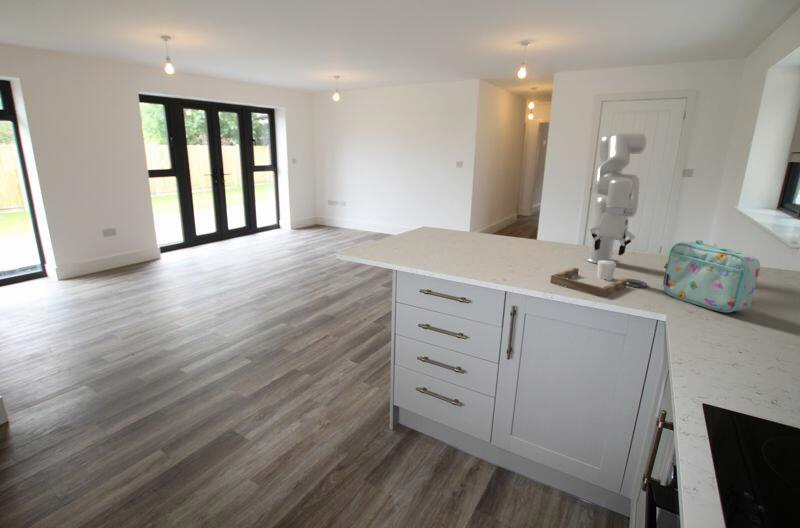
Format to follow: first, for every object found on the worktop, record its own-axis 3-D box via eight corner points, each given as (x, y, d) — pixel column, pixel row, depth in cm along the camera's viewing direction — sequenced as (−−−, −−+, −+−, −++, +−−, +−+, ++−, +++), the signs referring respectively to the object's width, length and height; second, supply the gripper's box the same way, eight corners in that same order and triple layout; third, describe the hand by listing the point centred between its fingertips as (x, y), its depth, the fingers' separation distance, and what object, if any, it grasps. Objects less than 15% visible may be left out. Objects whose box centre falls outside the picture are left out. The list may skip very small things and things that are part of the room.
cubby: (574, 274, 174) (575, 267, 173) (625, 287, 159) (627, 279, 158) (550, 282, 162) (551, 275, 161) (603, 297, 146) (604, 289, 146)
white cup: (615, 281, 166) (618, 264, 164) (597, 279, 167) (600, 263, 165) (611, 276, 172) (613, 260, 170) (593, 275, 174) (596, 259, 172)
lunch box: (654, 292, 153) (665, 236, 147) (672, 289, 157) (684, 235, 151) (731, 319, 129) (748, 254, 124) (751, 314, 133) (768, 251, 127)
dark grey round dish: (626, 279, 168) (626, 277, 168) (650, 285, 161) (650, 282, 161) (617, 283, 162) (617, 281, 162) (641, 289, 156) (641, 287, 156)
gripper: (642, 213, 158) (634, 255, 163) (598, 207, 171) (592, 246, 176) (634, 215, 153) (626, 258, 158) (589, 209, 166) (583, 249, 171)
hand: (608, 252), depth 167 cm, fingers open, 9 cm apart
